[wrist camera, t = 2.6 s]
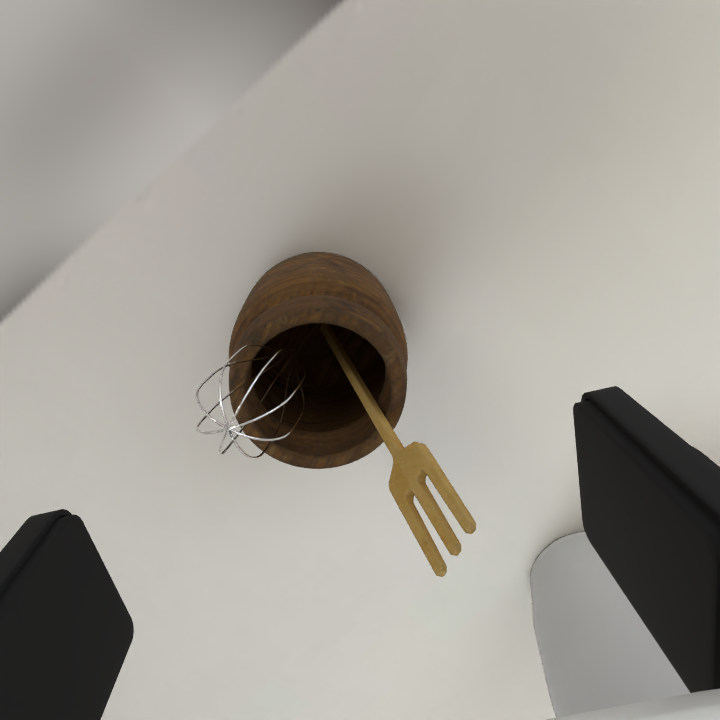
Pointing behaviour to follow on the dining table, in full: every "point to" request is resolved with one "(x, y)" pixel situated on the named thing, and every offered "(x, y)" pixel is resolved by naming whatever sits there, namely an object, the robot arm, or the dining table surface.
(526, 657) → the dining table surface
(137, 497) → the dining table surface
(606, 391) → the robot arm
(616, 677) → the cup
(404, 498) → the utensil holder
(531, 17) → the dining table surface
